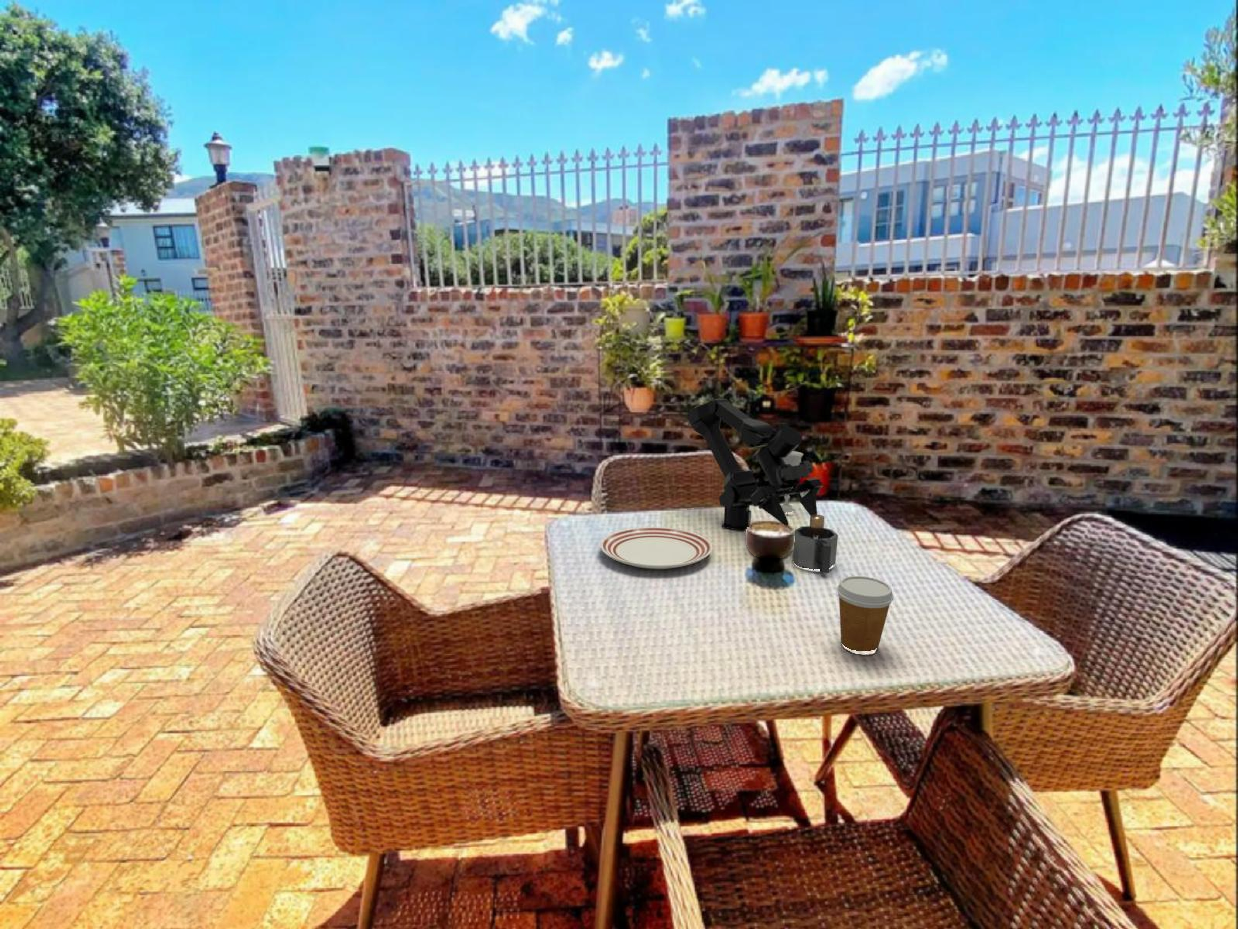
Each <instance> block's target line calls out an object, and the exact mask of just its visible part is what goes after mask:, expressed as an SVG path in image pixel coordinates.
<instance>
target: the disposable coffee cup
mask: <svg viewBox="0 0 1238 929" xmlns="http://www.w3.org/2000/svg"><path fill="white" fill-rule="evenodd" d="M836 592H837V595H838V600H839V601H838V603H839V606H838V607H839V624H840V627H839V628H840V631H839V632H840V644H841V643H842V644H843V645H844V646H845V647H847V648H849V649H851V650H856V651H871V650H875V649H876V648H878V649H879V646H880V643H881V640H882V635H883V632H884V628H885V623H886V620H887V617H888V612H889V609H890V606H891V604H892V602H893V601H894V598H895V596H894V594H893V590H892V586H890V585H889V584H888V583H887V582H885V581H883V580H881V579H878V578H874V577H870V576H865V575H852V576H845V577H843V578H842V579H840V582H839V584H838V585H837V586H836Z"/></svg>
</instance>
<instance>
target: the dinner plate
mask: <svg viewBox="0 0 1238 929" xmlns="http://www.w3.org/2000/svg"><path fill="white" fill-rule="evenodd" d="M599 546H600V550H601V551H602V552H603V554H605V555H606V556H607V557H609V558H610V559H612V560H614V561H617V562H619V563H622V564H625V565H629V566H632V567H636V568H641V569H647V570H668V569H675V568H681V567H686V566H689V565H692V564H695V563H698V562H700V561H702V560H703V559H705V558H707V557H708V556H709V555H710V554H711V553H712V551H713V544H712V542H710V540H709V539H708V538H705V537H704V536H702V535H700V534H698V533H695V532H692V531H689V530H685V529H680V528H674V527H673V528H672V527H663V526H645V527H643V526H642V527H632V528H628V529H627V528H626V529H622V530H618V531H614V532H611V533H610V534H608V535H606V536H605V537H604V538H602V540H601V541H600V545H599Z"/></svg>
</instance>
